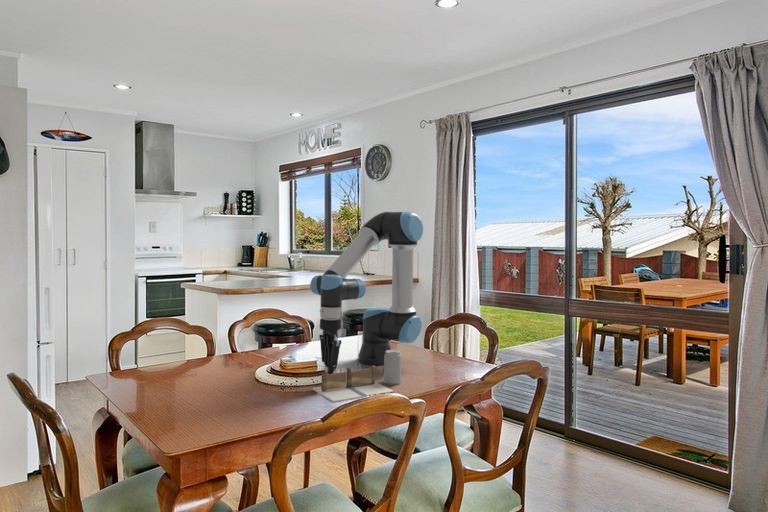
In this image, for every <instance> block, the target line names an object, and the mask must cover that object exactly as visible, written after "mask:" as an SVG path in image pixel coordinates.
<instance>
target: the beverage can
mask: <svg viewBox="0 0 768 512" xmlns="http://www.w3.org/2000/svg"><path fill="white" fill-rule="evenodd" d="M401 380H402V354H401V351H400V350H397V349H391V350H387V351H386V353H385V355H384V365H383V382H384V383H385V384H387V385H392V386H394V385H398V384H400V383H401Z"/></svg>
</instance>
